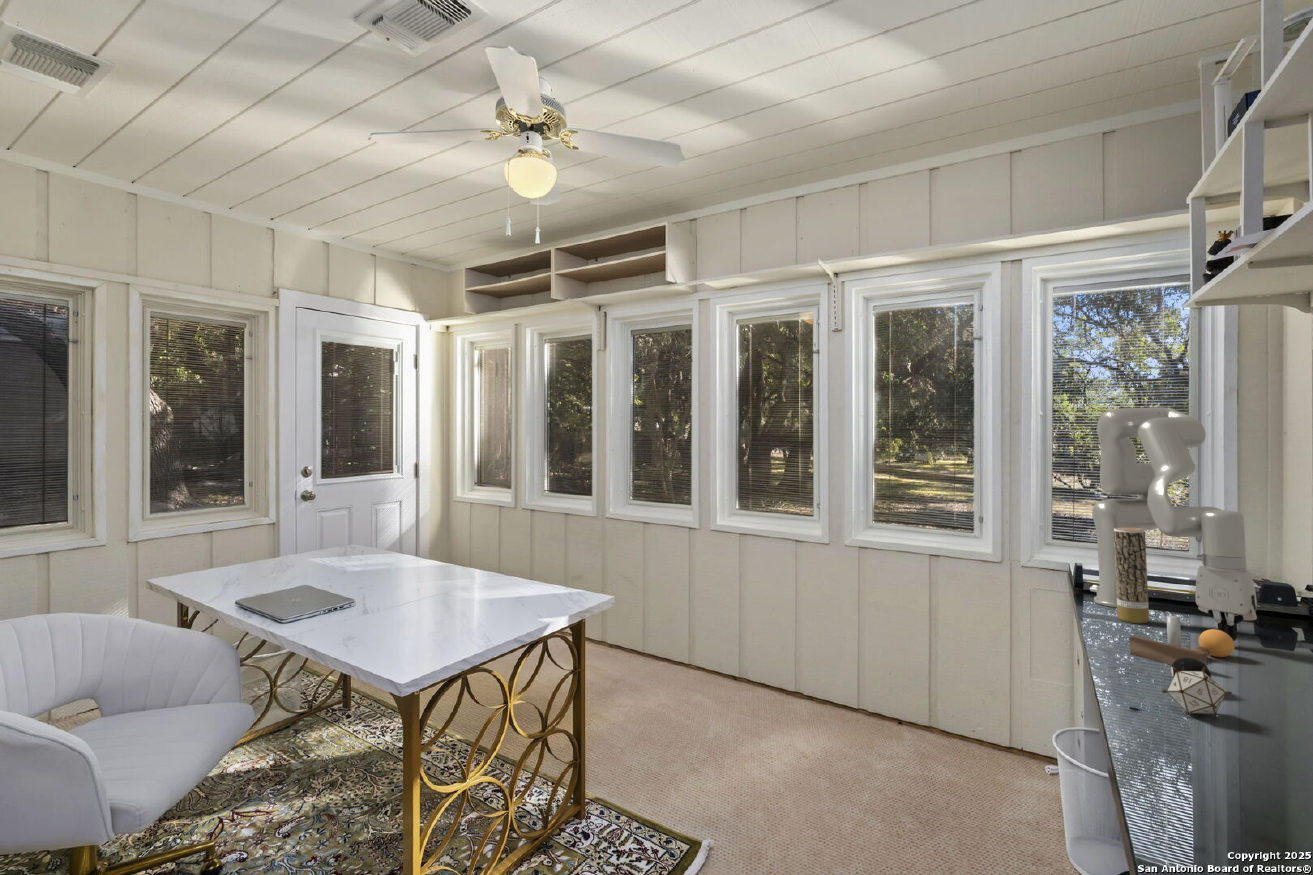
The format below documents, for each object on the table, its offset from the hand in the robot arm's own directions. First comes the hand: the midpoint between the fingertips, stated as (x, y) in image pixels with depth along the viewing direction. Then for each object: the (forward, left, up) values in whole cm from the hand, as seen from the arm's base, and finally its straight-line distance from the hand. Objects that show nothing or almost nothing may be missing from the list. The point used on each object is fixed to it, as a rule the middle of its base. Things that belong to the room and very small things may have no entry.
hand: (1227, 640), depth 146 cm
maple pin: (+4, -13, 0) cm, 13 cm away
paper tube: (-23, 0, -2) cm, 23 cm away
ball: (+4, -9, +2) cm, 11 cm away
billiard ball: (+17, -34, -2) cm, 38 cm away
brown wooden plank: (+4, -24, -2) cm, 24 cm away
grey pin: (0, -16, -2) cm, 17 cm away
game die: (+26, -45, -2) cm, 52 cm away
